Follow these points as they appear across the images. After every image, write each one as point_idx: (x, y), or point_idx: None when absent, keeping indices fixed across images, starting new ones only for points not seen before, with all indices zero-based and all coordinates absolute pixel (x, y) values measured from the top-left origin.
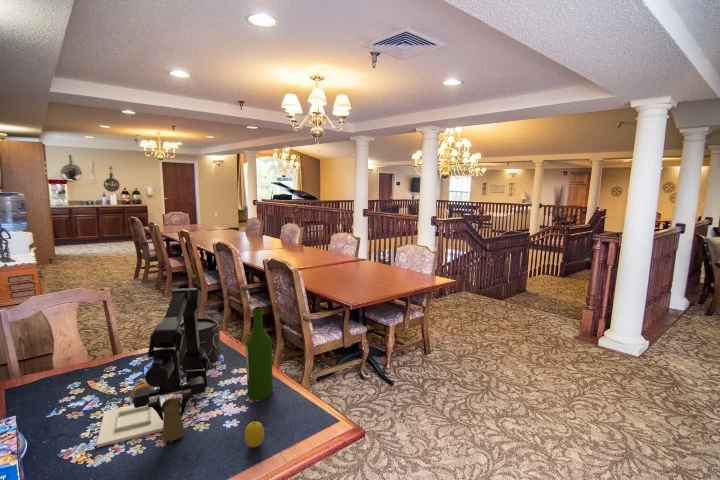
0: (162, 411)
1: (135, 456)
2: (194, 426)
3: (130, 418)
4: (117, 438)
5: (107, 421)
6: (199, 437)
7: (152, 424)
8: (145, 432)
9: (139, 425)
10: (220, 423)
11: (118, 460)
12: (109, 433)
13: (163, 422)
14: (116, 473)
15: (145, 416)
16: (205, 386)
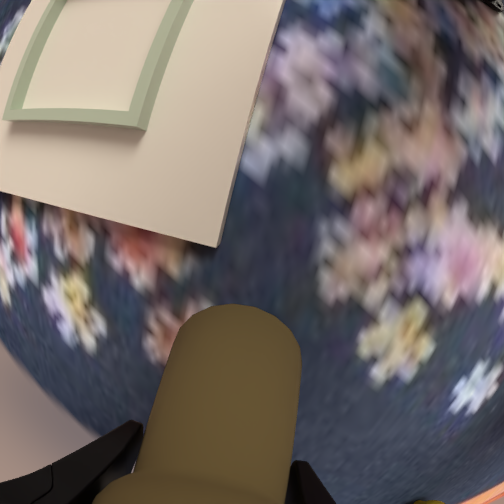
0: (110, 475)
1: (71, 352)
2: (372, 323)
3: (86, 28)
4: (9, 186)
5: (29, 24)
6: (342, 419)
7: (149, 153)
8: (101, 216)
9: (88, 123)
10: (458, 370)
11: (27, 325)
12: (1, 122)
13: (151, 411)
14: (36, 383)
15: (145, 37)
16: (496, 7)
